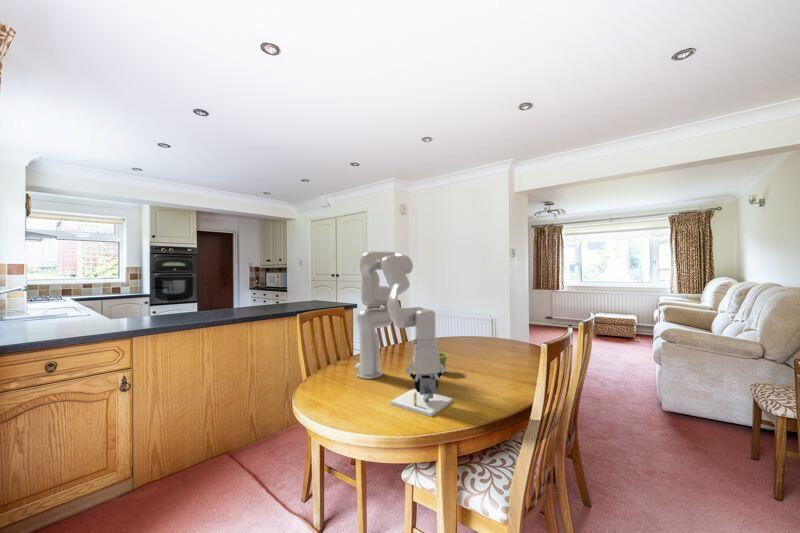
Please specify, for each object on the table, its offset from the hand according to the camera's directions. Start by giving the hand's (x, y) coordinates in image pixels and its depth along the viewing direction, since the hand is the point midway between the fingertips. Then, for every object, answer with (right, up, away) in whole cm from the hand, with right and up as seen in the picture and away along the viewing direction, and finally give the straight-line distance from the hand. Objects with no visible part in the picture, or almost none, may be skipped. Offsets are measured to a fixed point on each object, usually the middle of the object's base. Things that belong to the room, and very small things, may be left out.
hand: (426, 389), depth 126 cm
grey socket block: (0, -1, -2) cm, 2 cm away
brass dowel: (-4, -4, -4) cm, 7 cm away
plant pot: (+9, -5, +37) cm, 39 cm away
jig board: (-2, -5, +1) cm, 6 cm away
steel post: (0, -4, 0) cm, 4 cm away
